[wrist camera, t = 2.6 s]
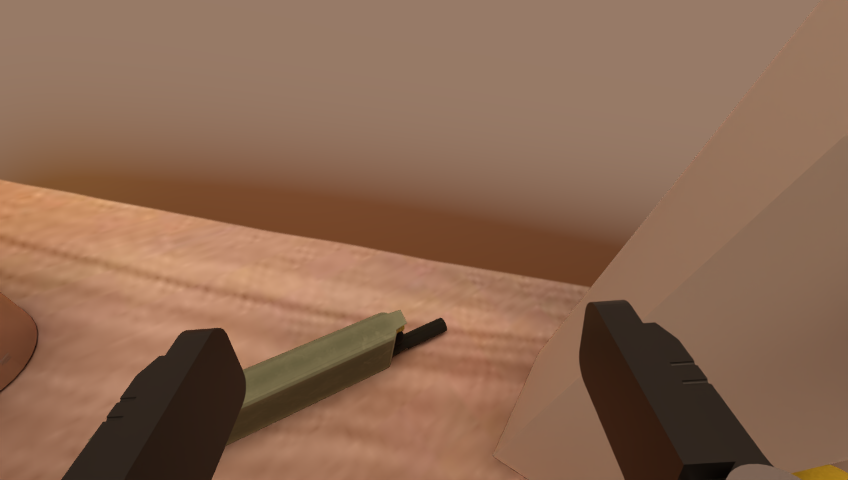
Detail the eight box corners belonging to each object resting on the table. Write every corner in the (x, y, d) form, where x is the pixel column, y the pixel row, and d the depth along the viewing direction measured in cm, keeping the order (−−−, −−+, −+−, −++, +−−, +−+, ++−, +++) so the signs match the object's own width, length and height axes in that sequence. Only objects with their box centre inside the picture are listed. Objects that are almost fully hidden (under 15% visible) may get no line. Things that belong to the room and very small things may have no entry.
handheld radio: (133, 447, 30) (432, 314, 40) (140, 495, 29) (450, 344, 38) (86, 426, 25) (445, 277, 34) (92, 482, 23) (466, 310, 33)
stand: (492, 455, 33) (920, 66, 8) (538, 353, 38) (866, -57, 13) (590, 520, 31) (1593, 282, 6) (623, 402, 36) (1190, 29, 12)
